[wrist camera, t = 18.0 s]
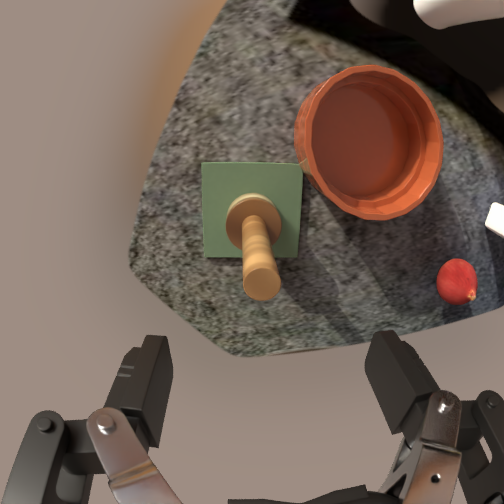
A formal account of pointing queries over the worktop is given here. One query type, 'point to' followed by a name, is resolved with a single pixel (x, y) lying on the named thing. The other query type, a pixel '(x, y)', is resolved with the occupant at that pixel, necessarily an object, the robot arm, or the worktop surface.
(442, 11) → the drinking glass
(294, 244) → the mat
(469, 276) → the onion
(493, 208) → the pepper shaker
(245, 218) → the dish brush
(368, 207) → the bowl
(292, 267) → the worktop surface
